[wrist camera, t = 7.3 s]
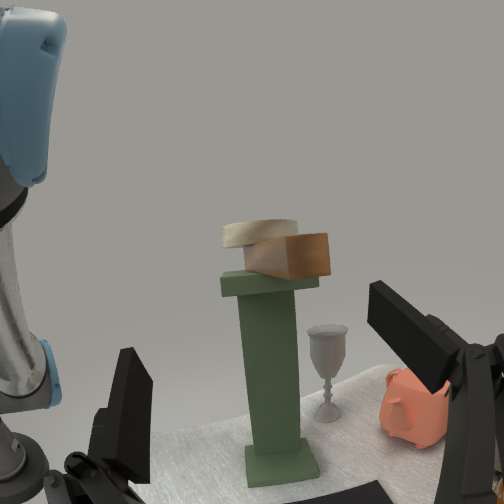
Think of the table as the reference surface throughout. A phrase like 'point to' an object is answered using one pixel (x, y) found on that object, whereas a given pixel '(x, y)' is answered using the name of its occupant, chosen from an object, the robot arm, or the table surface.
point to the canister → (499, 492)
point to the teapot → (413, 409)
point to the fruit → (497, 459)
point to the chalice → (327, 363)
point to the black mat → (353, 496)
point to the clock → (279, 248)
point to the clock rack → (271, 376)
